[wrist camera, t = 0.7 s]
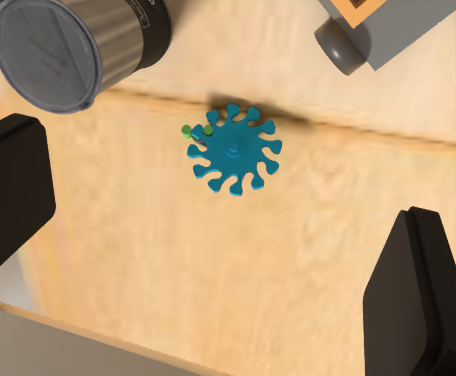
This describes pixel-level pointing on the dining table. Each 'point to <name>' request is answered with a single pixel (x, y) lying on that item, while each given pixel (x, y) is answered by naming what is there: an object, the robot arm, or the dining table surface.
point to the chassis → (376, 29)
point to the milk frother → (78, 47)
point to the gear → (232, 148)
